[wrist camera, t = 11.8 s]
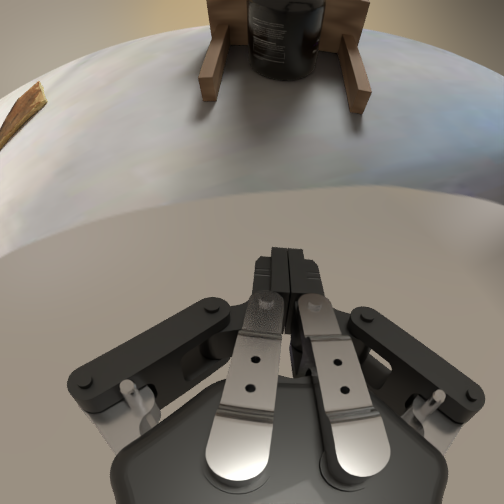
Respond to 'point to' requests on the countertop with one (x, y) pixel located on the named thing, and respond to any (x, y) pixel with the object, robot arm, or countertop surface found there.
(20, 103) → the shard
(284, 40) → the supplement bottle
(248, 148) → the countertop surface
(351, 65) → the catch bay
